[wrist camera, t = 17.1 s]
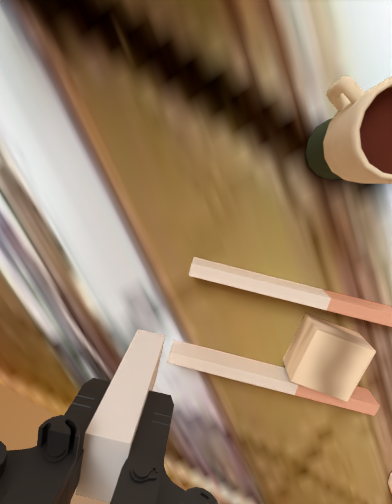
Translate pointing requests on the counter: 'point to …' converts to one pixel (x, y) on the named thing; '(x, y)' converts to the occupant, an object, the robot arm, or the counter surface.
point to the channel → (266, 372)
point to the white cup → (390, 482)
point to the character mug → (355, 135)
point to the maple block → (327, 357)
